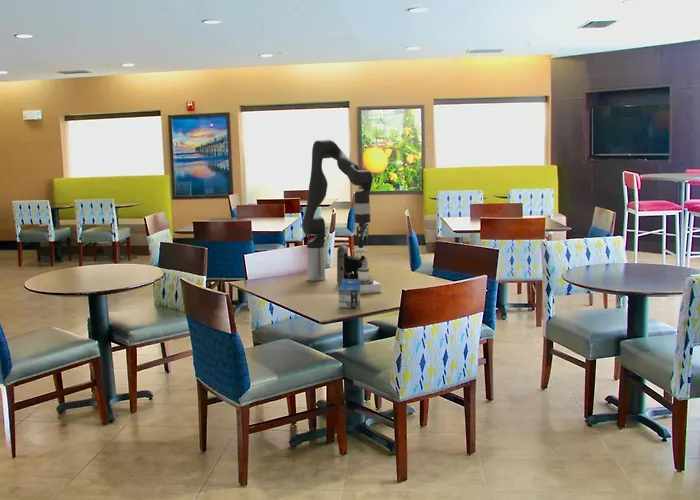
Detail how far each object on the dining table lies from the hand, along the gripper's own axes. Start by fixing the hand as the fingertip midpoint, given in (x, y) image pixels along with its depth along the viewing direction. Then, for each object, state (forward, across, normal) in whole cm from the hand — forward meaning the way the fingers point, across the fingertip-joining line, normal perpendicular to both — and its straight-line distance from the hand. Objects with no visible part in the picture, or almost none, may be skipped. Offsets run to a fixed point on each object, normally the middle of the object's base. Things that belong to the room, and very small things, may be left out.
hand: (362, 246), depth 338 cm
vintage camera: (+22, -19, -10) cm, 30 cm away
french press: (+22, -40, -11) cm, 47 cm away
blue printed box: (+22, +35, +2) cm, 41 cm away
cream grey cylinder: (+18, 0, 0) cm, 18 cm away
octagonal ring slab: (+22, 0, 0) cm, 22 cm away
